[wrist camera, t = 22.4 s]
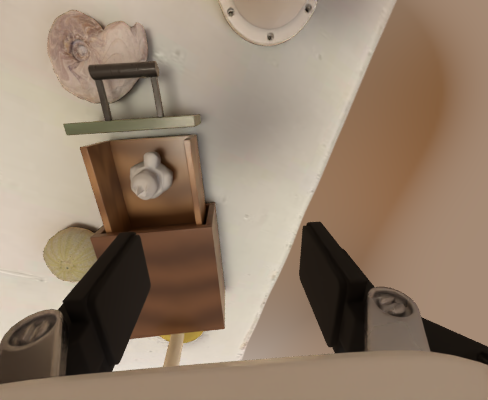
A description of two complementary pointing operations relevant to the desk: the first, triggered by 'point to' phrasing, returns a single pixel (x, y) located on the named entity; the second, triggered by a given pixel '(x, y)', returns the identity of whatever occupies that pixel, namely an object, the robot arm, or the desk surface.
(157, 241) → the cabinet
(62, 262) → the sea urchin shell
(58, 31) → the fossil
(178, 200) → the drawer
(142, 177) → the rubber duck
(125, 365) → the desk surface
